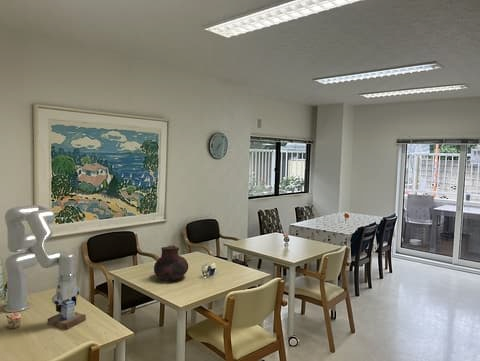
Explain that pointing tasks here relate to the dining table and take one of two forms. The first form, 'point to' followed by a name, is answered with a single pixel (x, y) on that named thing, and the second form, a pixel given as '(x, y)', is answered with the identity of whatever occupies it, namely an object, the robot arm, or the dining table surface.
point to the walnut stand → (66, 321)
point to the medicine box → (67, 309)
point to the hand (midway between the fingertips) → (66, 308)
